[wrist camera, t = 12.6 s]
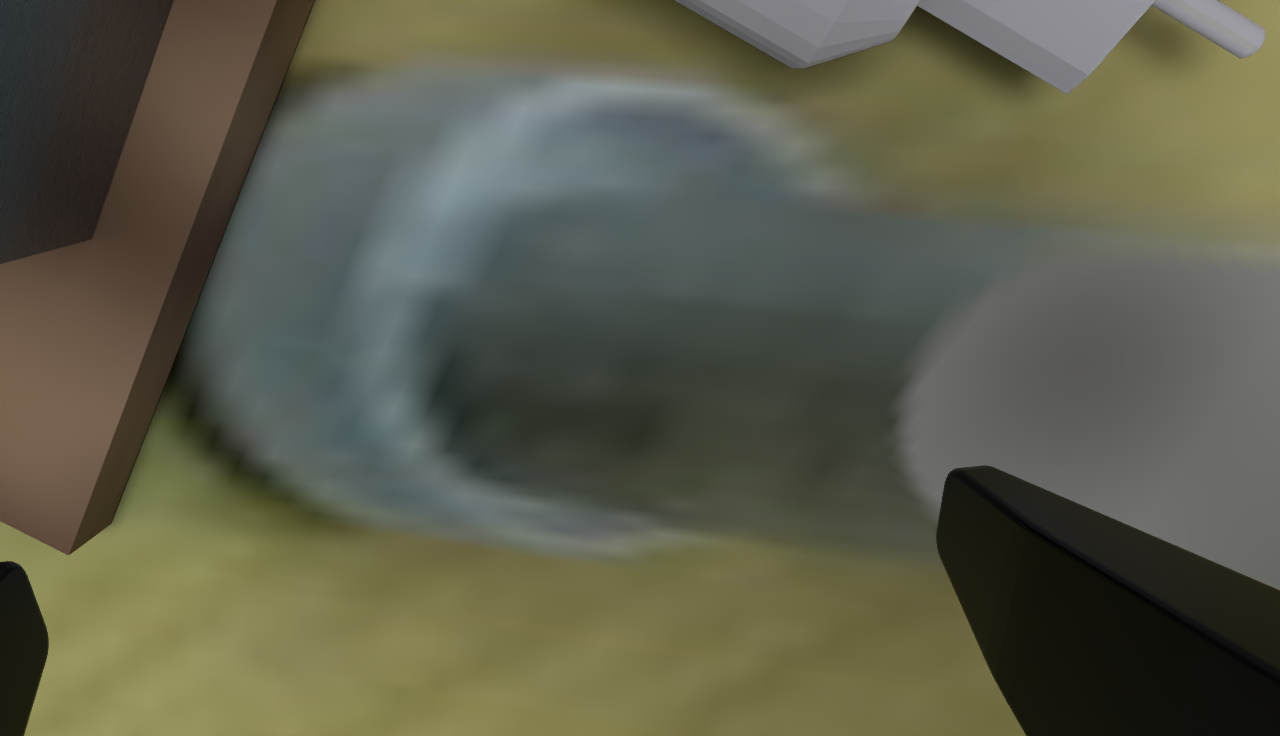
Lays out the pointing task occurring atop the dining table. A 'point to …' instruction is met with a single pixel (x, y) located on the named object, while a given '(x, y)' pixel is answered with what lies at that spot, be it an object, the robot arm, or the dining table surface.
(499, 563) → the dining table surface
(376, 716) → the dining table surface
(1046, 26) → the charger
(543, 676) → the dining table surface
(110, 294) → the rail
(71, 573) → the dining table surface
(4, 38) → the dark grey tall block
